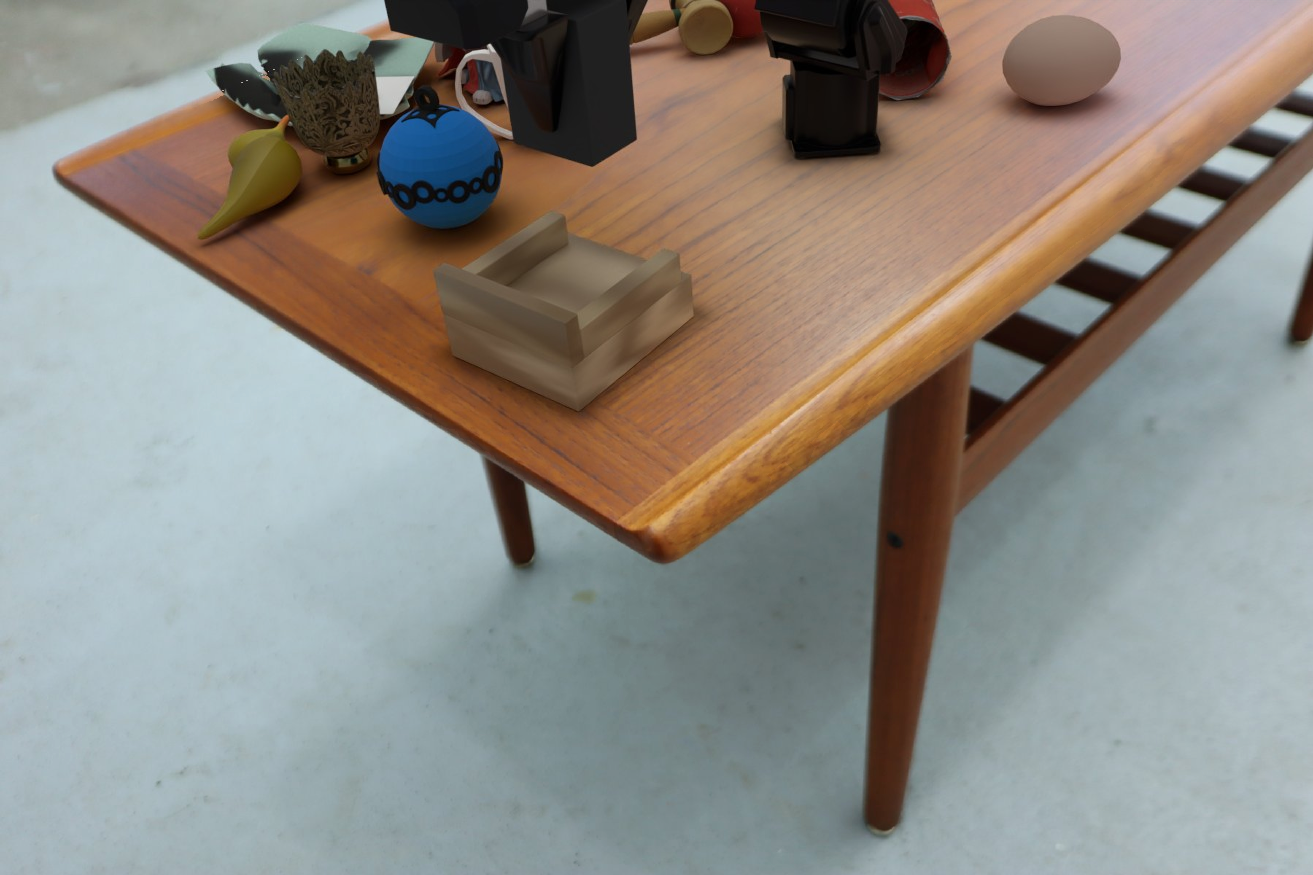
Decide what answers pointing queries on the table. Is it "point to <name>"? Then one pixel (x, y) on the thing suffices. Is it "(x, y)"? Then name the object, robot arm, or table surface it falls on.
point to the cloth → (308, 39)
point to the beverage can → (918, 52)
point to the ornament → (439, 164)
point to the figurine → (471, 73)
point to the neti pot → (256, 176)
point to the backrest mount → (562, 310)
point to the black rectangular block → (585, 87)
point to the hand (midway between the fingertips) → (574, 116)
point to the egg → (1060, 60)
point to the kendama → (702, 23)
